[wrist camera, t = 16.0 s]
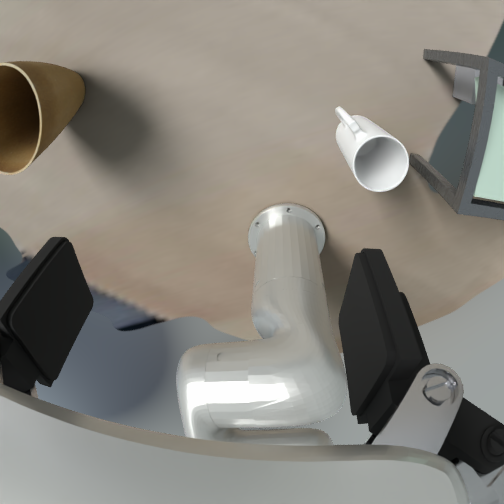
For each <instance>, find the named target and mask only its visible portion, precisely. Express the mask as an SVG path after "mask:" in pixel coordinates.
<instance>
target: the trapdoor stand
mask: <svg viewBox="0 0 504 504" xmlns="http://www.w3.org/2000/svg"><path fill="white" fill-rule="evenodd" d="M423 59H426V60H430V61H435V62H441V63H447V64H452V65H457V66H462V67H467V68H472V69H476V70H480V74H479V83H478V91H477V98H476V105H475V111H474V117H473V123H472V128H471V133H470V138H469V143H468V148H467V152H466V156H465V161H464V165H463V169H462V173H461V176H460V180H459V184H458V187H457V189H456V188H455V187H454V186H453V185H451V184H450V182H448V181H447V180H446V179H445V178H444V177H443V176H442V175H441V174H440V173H439V172H438V171H437V170H436V169H435V168H433V167H432V166H431V165H430V164H429V163H428V162H427V161H426V160H424V159H423V158H422V157H421V156H420V155H418V154H412V153H411V154H410V159H409V163H410V164H411V165H412V166H413V167H414V168H415V169H416V170H417V171H418V172H419V173H420V174H421V175H422V176H423V177H424V178H425V179H426V180H427V181H428V182H429V183H430V184H431V185H432V186H433V187H434V188H435V190H436V191H437V192H438V193H439V194H440V195H441V196H442V197H443V198H444V199H445V200H446V202H447V203H448V204H449V205H450V206H451V207H452V208H453V209H454V211H455V212H456V213H457V214H463V215H471V216H478V217H486V218H493V219H500V220H504V204H500V203H495V202H489V201H484V200H478V199H472V198H473V194H474V191H475V188H476V184H477V181H478V177H479V174H480V170H481V166H482V162H483V158H484V154H485V150H486V145H487V141H488V136H489V131H490V126H491V121H492V115H493V109H494V103H495V96H496V89H497V81H498V77H501V78H503V86H504V64H502V63H500V62H498V61H496V60H494V59H492V58H489V57H484V56H478V55H472V54H465V53H458V52H449V51H439V50H428V49H424V56H423Z"/></svg>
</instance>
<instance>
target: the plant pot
mask: <svg viewBox="0 0 504 504" xmlns="http://www.w3.org/2000/svg"><path fill="white" fill-rule="evenodd" d="M84 97H85V85H84V81H83V79H82V78H81V76H80V75H79V74H77V73H76V72H74V71H72V70H70V69H67V68H65V67H62V66H58V65H54V64H49V63H43V62H31V61H17V62H4V63H0V173H1V174H5V175H14V174H18V173H20V172H22V171H24V170H25V169H26V168H27V167H28V166H29V165H30V164H31V163H32V162H33V161H34V160H35V159H36V158H37V157H38V156H39V155H40V154H41V153H42V152H43V151H44V150H45V149H46V148H47V147H48V146H49V145H50V144H51V143H52V142H53V141H54V140H55V139H56V137H57V136H58V135H59V134H60V133H61V132H62V130H63V129H64V128H65V127H66V126H67V124H68V123H69V122H70V121H71V119H72V118H73V116H74V115H75V114H76V112H77V111H78V109H79V108H80V106H81V105H82V103H83V100H84Z"/></svg>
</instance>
